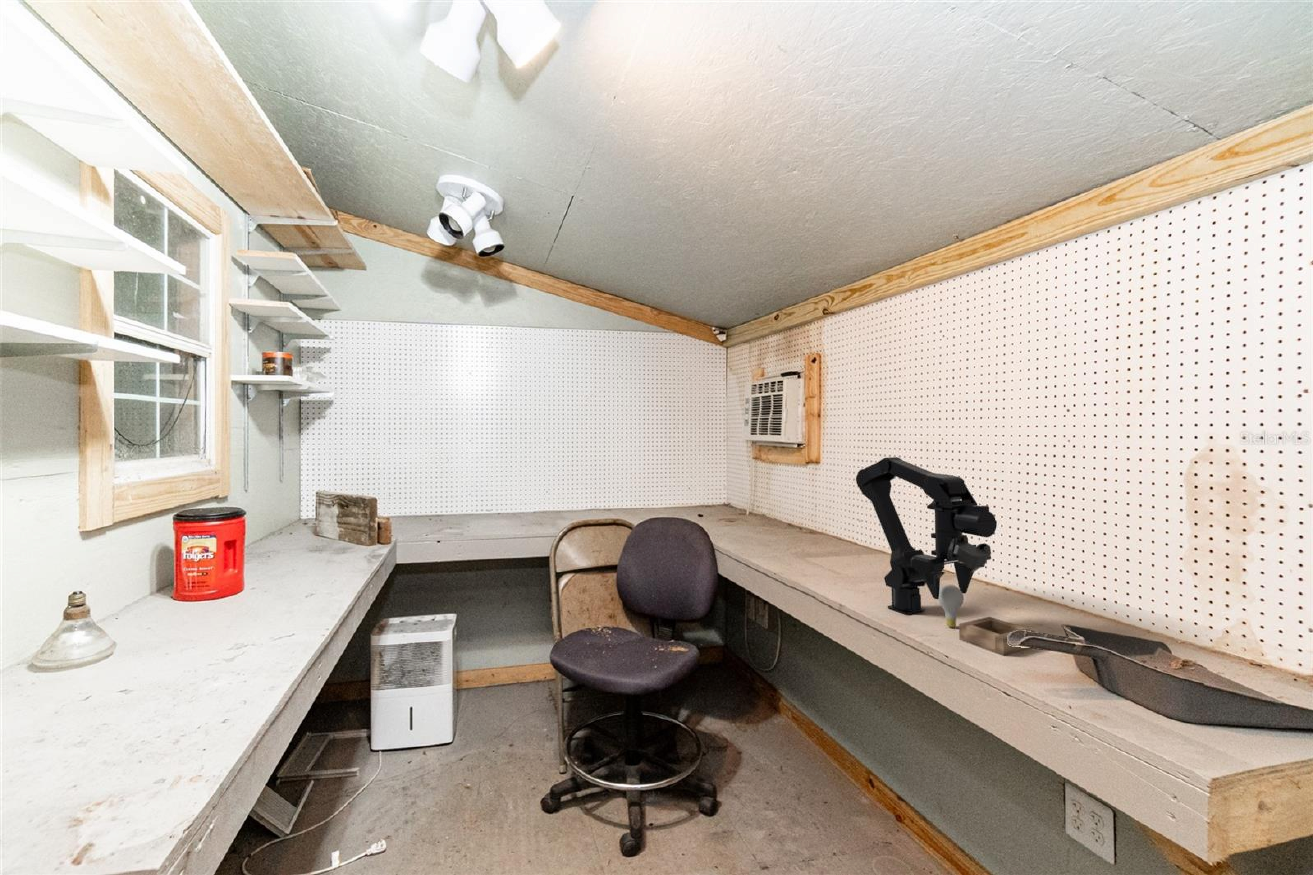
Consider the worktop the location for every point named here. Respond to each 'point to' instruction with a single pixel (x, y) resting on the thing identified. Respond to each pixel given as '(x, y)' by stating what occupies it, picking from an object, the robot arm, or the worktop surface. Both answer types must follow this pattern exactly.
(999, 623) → the socket block
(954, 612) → the light bulb
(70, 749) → the worktop surface
